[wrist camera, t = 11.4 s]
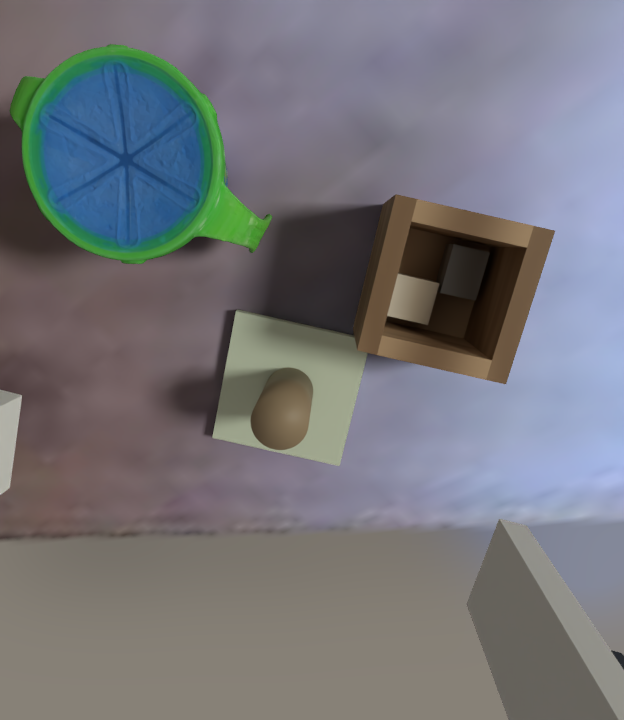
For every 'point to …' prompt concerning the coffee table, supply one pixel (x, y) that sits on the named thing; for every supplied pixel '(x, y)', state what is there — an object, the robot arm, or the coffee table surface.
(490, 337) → the box
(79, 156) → the snack cup
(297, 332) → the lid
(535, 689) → the robot arm
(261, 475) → the coffee table surface
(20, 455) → the coffee table surface
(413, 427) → the coffee table surface
